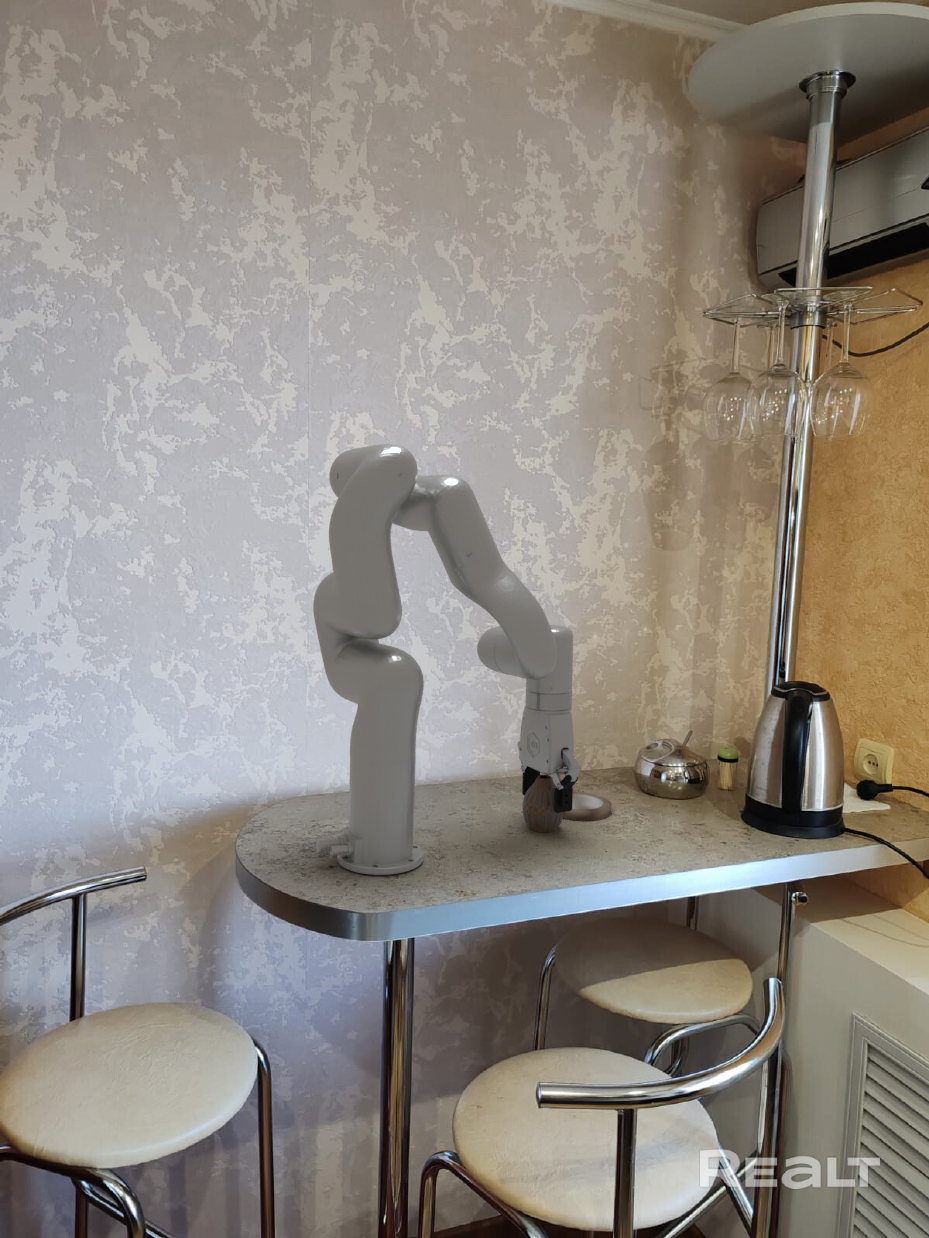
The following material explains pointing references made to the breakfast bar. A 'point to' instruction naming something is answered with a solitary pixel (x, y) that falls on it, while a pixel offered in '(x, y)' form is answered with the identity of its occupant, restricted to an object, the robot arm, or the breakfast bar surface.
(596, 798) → the stand
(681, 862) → the breakfast bar surface
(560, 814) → the vase
